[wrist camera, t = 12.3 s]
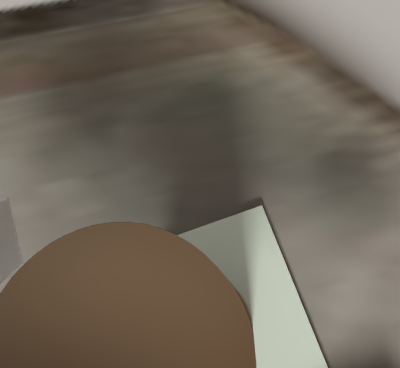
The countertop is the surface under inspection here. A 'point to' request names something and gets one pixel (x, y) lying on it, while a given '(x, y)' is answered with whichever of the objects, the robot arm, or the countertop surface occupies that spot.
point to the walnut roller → (123, 305)
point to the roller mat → (261, 287)
